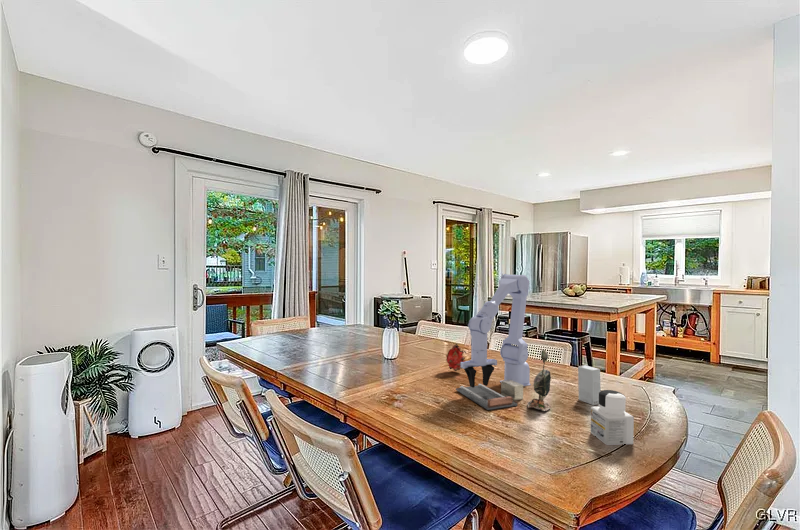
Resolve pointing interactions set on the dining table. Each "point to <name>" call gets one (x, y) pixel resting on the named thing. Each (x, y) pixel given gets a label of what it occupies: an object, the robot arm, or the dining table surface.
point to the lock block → (512, 389)
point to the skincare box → (589, 384)
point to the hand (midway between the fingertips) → (478, 385)
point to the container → (612, 419)
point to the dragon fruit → (455, 358)
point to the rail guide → (486, 397)
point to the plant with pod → (541, 386)
